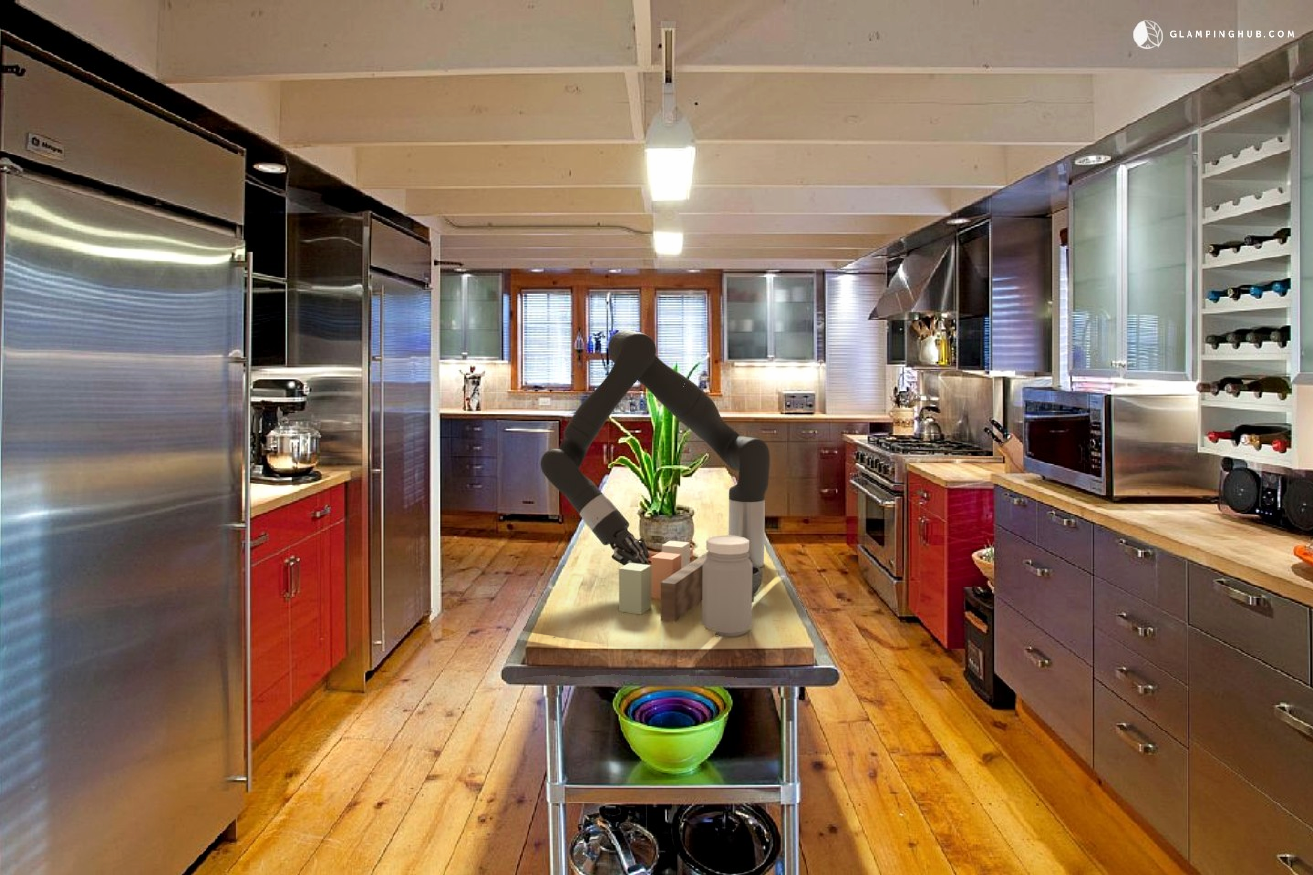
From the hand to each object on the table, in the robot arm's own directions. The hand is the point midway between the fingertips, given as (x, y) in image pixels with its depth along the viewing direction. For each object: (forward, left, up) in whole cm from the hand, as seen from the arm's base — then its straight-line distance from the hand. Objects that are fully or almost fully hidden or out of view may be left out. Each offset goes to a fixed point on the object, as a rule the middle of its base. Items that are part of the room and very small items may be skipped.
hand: (653, 578), depth 170 cm
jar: (+11, +21, -5) cm, 24 cm away
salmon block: (0, +3, -3) cm, 5 cm away
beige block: (-11, +1, -3) cm, 11 cm away
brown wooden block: (0, +3, -5) cm, 5 cm away
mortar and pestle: (-7, +18, -5) cm, 20 cm away
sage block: (+11, +1, -3) cm, 12 cm away
